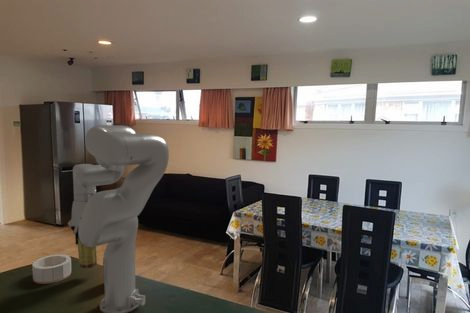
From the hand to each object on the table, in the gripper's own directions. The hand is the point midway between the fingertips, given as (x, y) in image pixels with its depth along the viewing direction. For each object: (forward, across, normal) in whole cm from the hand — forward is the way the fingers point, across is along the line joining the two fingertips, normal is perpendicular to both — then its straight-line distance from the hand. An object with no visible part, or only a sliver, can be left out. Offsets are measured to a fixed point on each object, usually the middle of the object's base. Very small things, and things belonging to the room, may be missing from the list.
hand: (87, 243), depth 121 cm
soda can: (+14, -12, +1) cm, 18 cm away
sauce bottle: (+9, 0, 0) cm, 9 cm away
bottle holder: (+13, +14, +2) cm, 19 cm away
